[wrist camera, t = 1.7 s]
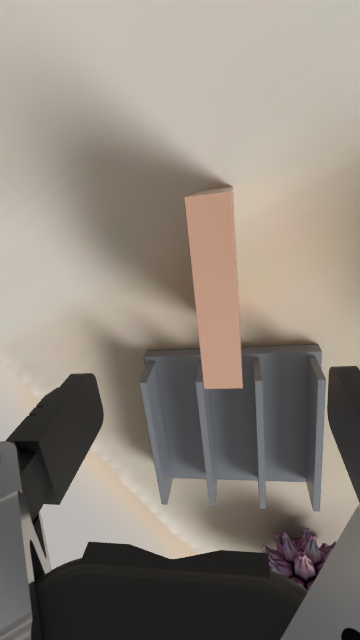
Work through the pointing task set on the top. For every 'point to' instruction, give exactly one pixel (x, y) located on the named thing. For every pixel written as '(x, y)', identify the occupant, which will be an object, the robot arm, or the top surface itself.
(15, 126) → the top surface
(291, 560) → the flower
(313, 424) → the rack
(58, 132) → the top surface
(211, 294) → the tall peach block
